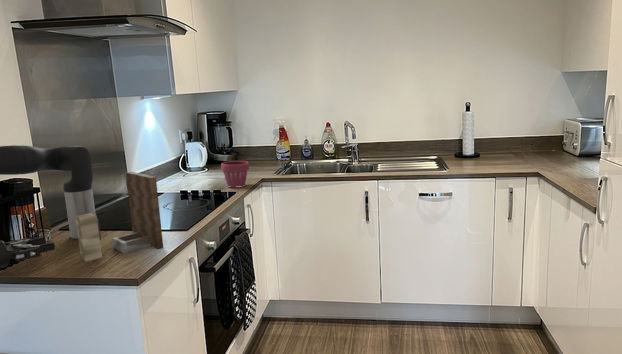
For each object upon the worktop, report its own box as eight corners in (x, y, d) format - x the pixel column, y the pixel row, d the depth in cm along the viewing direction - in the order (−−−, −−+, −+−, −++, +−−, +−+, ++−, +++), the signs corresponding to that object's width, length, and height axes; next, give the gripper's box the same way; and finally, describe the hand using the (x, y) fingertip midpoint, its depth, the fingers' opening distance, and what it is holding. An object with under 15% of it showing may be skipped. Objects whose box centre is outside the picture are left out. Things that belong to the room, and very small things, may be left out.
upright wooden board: (107, 245, 164) (98, 176, 159) (138, 237, 172) (131, 171, 167) (130, 256, 151) (122, 182, 147) (163, 247, 159) (155, 176, 154)
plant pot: (254, 184, 256) (253, 160, 254) (242, 189, 244) (240, 165, 241) (231, 183, 261) (229, 160, 259) (217, 188, 249) (215, 164, 246)
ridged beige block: (81, 259, 151) (75, 216, 149) (99, 254, 155) (93, 212, 152) (85, 262, 148) (79, 218, 146) (103, 257, 152) (98, 214, 150)
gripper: (-11, 250, 125) (55, 235, 137) (-23, 239, 135) (40, 226, 146) (-6, 277, 127) (59, 260, 138) (-18, 264, 137) (43, 249, 148)
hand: (49, 242), depth 142 cm, fingers open, 8 cm apart
